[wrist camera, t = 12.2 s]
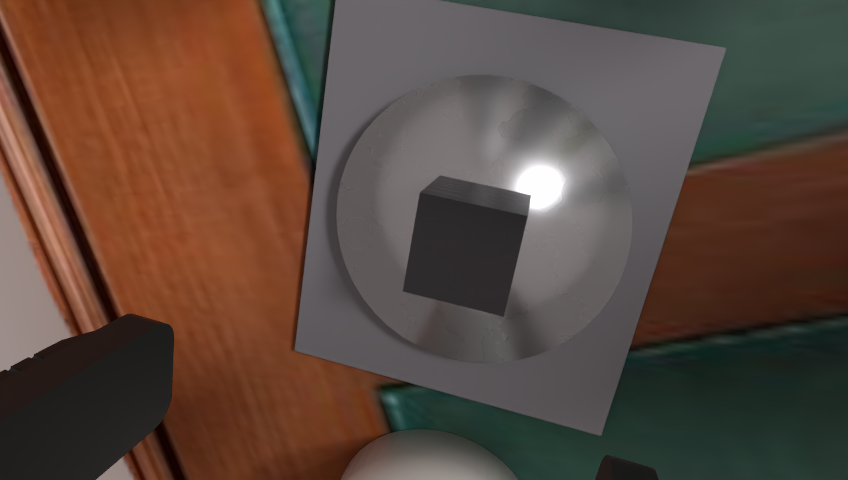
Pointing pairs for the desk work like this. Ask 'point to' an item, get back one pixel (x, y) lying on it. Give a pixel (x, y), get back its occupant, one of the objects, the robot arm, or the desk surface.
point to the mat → (567, 78)
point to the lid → (484, 218)
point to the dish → (425, 458)
